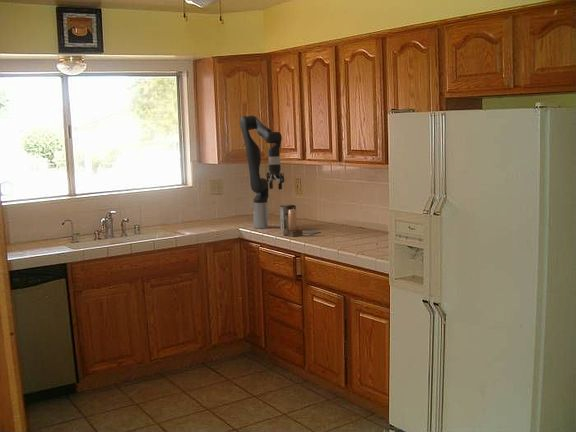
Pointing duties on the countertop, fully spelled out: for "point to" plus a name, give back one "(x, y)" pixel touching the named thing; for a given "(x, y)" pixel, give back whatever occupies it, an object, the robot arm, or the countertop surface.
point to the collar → (292, 233)
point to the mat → (311, 232)
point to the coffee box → (285, 216)
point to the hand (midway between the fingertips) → (275, 189)
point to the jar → (292, 220)
